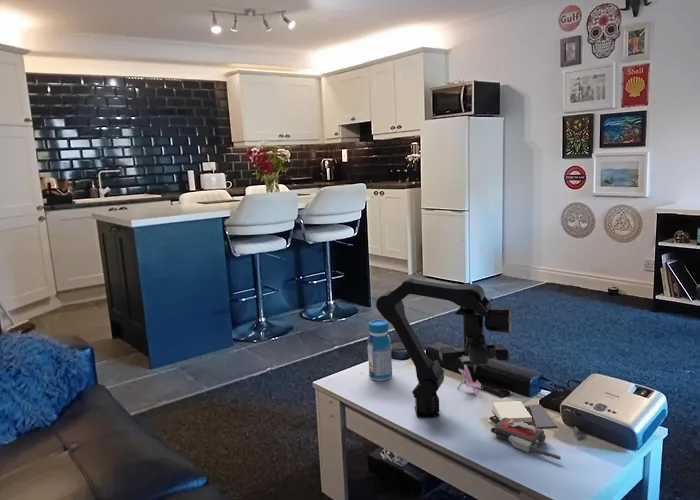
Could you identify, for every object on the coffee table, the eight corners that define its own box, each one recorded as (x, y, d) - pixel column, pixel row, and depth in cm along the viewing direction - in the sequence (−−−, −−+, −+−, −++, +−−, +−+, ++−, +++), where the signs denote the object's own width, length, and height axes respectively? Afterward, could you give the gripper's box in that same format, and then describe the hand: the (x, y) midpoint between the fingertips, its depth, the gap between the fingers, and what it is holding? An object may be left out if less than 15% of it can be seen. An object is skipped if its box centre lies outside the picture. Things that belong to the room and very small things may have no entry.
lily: (462, 403, 168) (476, 381, 166) (439, 381, 176) (452, 359, 173) (481, 402, 176) (495, 381, 173) (459, 380, 183) (472, 359, 181)
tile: (502, 418, 150) (532, 417, 150) (492, 402, 160) (520, 400, 160) (502, 426, 151) (532, 424, 151) (492, 409, 161) (520, 407, 161)
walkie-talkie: (486, 438, 146) (558, 465, 132) (485, 423, 145) (558, 449, 131) (502, 424, 152) (573, 449, 138) (502, 410, 151) (573, 433, 137)
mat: (506, 429, 149) (506, 428, 149) (494, 408, 162) (494, 406, 162) (557, 427, 149) (557, 425, 149) (540, 405, 162) (540, 404, 162)
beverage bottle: (383, 383, 183) (381, 327, 180) (363, 378, 189) (361, 323, 185) (397, 374, 190) (395, 320, 186) (378, 369, 195) (375, 317, 192)
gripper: (445, 341, 143) (446, 396, 146) (515, 337, 143) (515, 392, 146) (438, 328, 154) (439, 379, 157) (503, 324, 154) (503, 375, 157)
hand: (474, 381), depth 154 cm, fingers closed
